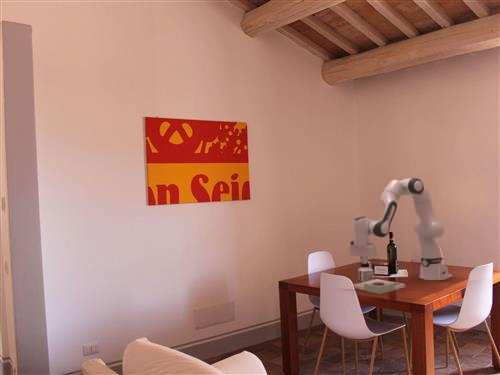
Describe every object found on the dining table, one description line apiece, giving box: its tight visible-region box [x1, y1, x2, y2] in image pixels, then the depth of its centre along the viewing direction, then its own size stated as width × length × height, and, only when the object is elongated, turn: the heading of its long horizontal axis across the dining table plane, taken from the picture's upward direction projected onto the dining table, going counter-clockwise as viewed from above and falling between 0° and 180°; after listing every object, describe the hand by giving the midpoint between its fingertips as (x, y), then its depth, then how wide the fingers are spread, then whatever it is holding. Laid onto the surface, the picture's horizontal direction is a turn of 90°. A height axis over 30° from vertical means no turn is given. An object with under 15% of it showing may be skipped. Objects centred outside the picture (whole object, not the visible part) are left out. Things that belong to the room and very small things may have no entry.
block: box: [373, 282, 384, 286], centre depth 285 cm, size 5×5×3 cm
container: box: [357, 260, 375, 282], centre depth 318 cm, size 8×8×13 cm
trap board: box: [353, 278, 406, 295], centre depth 294 cm, size 24×24×4 cm
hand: (364, 263), depth 295 cm, fingers closed
